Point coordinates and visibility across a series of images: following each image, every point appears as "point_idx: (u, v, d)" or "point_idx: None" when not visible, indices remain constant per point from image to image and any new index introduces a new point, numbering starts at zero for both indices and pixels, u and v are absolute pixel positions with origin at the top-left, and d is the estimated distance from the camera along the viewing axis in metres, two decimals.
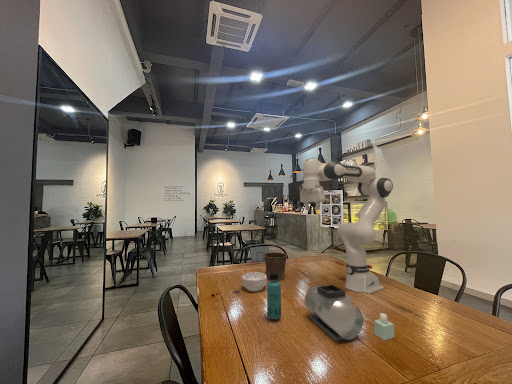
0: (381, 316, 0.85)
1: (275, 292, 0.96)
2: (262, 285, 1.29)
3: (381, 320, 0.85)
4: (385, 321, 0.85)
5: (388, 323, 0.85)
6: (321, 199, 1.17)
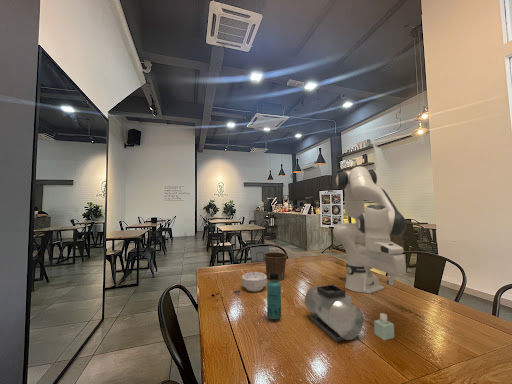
0: (381, 316, 0.85)
1: (275, 292, 0.96)
2: (262, 285, 1.29)
3: (381, 320, 0.85)
4: (385, 321, 0.85)
5: (388, 323, 0.85)
6: None
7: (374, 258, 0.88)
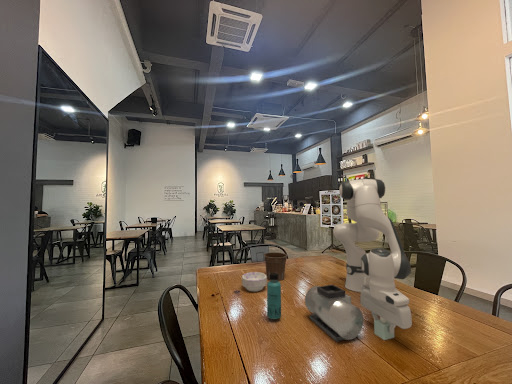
0: None
1: (275, 292, 0.96)
2: (262, 285, 1.29)
3: (381, 320, 0.85)
4: (385, 321, 0.85)
5: (388, 323, 0.85)
6: None
7: (378, 305, 0.86)
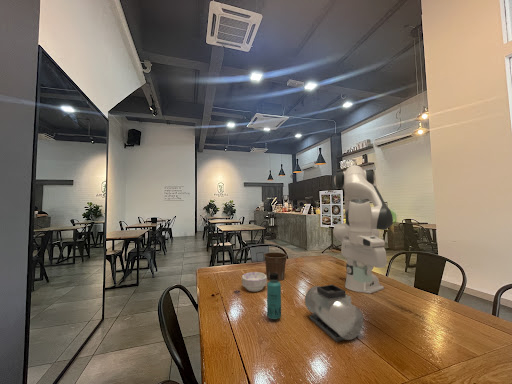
0: (359, 262, 0.89)
1: (275, 292, 0.96)
2: (262, 285, 1.29)
3: (359, 265, 0.89)
4: (363, 266, 0.88)
5: (366, 268, 0.88)
6: None
7: (357, 251, 0.89)
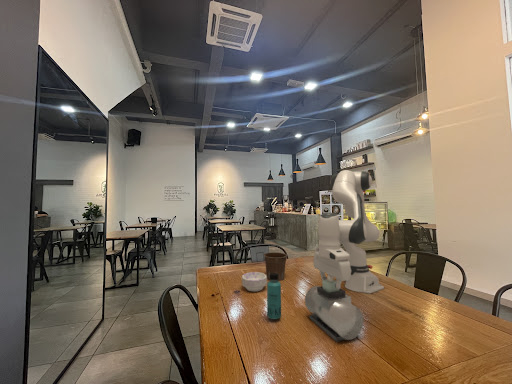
0: (328, 276, 0.93)
1: (275, 292, 0.96)
2: (262, 285, 1.29)
3: (328, 279, 0.93)
4: (331, 280, 0.92)
5: (334, 282, 0.92)
6: None
7: (326, 263, 0.93)
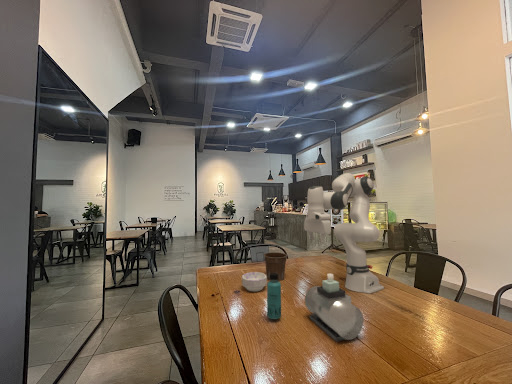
0: (328, 276, 0.93)
1: (275, 292, 0.96)
2: (262, 285, 1.29)
3: (328, 279, 0.93)
4: (331, 280, 0.92)
5: (334, 282, 0.92)
6: None
7: (313, 224, 1.20)
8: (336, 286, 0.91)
